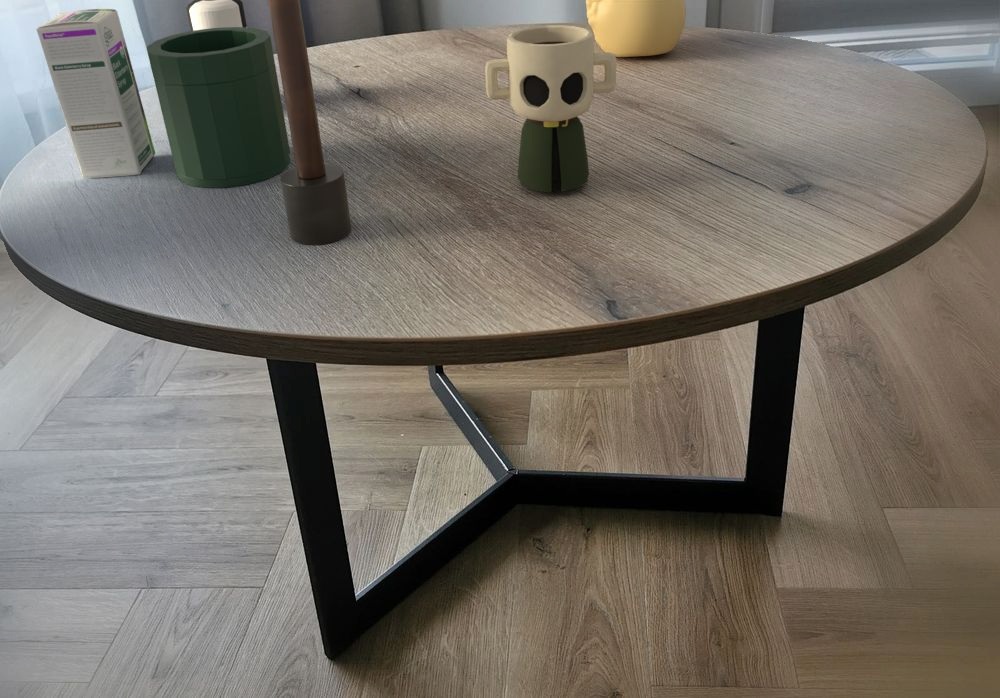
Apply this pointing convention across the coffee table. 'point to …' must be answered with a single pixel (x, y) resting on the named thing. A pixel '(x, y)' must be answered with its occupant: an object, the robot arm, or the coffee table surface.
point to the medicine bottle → (215, 14)
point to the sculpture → (636, 25)
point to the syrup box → (97, 92)
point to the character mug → (551, 100)
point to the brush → (306, 141)
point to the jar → (221, 105)
